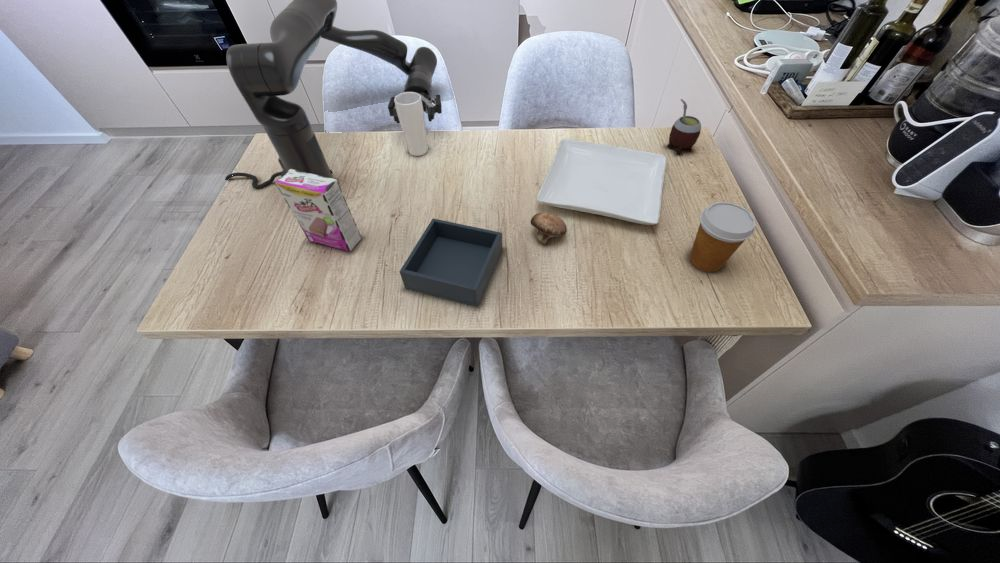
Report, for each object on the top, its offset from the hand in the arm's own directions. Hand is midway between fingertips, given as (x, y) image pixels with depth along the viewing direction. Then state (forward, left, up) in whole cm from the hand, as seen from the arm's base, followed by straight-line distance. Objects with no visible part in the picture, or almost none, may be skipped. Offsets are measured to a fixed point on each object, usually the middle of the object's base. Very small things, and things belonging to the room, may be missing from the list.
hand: (413, 119), depth 104 cm
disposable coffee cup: (+76, -22, -9) cm, 79 cm away
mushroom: (+43, -24, -9) cm, 50 cm away
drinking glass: (+1, -2, -9) cm, 9 cm away
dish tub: (+27, -39, -8) cm, 48 cm away
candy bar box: (-2, -39, -9) cm, 40 cm away
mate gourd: (+69, +18, -9) cm, 72 cm away
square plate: (+52, -4, -9) cm, 53 cm away
